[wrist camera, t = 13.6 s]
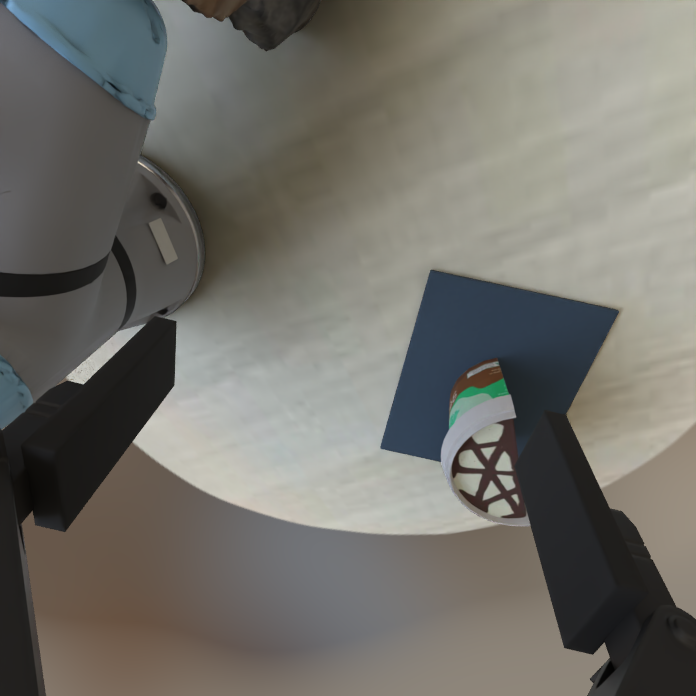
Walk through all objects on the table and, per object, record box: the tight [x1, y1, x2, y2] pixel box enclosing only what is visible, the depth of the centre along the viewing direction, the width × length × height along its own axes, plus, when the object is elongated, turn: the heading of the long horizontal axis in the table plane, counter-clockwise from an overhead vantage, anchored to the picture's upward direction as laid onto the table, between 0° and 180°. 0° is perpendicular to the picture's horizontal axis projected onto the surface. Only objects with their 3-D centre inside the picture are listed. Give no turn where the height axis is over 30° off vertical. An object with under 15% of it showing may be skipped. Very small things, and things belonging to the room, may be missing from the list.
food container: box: [441, 358, 530, 526], centre depth 42 cm, size 12×6×10 cm, turn 15°
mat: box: [381, 270, 619, 462], centre depth 45 cm, size 16×20×1 cm
